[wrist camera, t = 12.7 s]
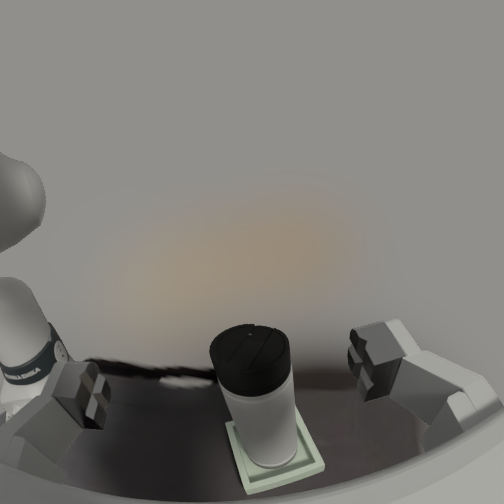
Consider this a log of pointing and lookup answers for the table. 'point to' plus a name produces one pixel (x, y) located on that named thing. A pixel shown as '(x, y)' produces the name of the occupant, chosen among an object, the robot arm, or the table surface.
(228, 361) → the travel mug
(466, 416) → the robot arm
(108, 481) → the table surface
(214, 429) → the table surface
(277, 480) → the tray
